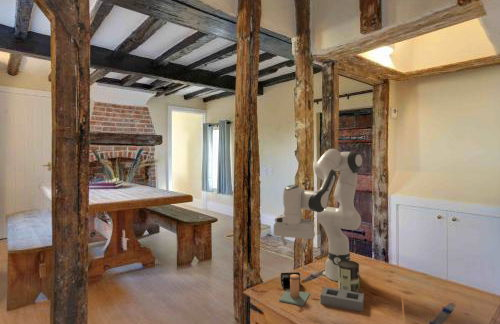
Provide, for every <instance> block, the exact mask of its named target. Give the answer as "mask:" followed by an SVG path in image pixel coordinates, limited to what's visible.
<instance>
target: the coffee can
mask: <svg viewBox="0 0 500 324" xmlns="http://www.w3.org/2000/svg"><path fill="white" fill-rule="evenodd" d="M337 282H338V284H337V285H338V289H341V290H347V291H353V292H359V293H360V264H359V262H356V261H354V260H351V261H349V260H343V261H339V262H338V281H337Z"/></svg>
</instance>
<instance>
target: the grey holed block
mask: <svg viewBox="0 0 500 324" xmlns="http://www.w3.org/2000/svg"><path fill="white" fill-rule="evenodd" d="M319 296H320V304H321V305H326V306H331V307H337V308H340V309H346V310H351V311H356V312H362V313H363V310H364V304H365V293H364V292H360V291H359V292H353V291H347V290H341V289H339V288H335V287H329V286H324V287H323V288H322V291H321V293H320V295H319Z"/></svg>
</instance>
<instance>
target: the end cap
mask: <svg viewBox="0 0 500 324" xmlns="http://www.w3.org/2000/svg"><path fill="white" fill-rule="evenodd" d="M292 274H297V275H299V290H300V289H301V284H302V283H301V273H300V271H299V272H298V271H297V272H280V284H281V286H282V289H283V290H287V289H290V275H292Z"/></svg>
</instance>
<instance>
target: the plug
mask: <svg viewBox="0 0 500 324" xmlns="http://www.w3.org/2000/svg"><path fill="white" fill-rule="evenodd" d="M299 291H300V289H299V275H297V274H292V275H290V297H291V298H294V299H297V298H299V297H300V295H299Z"/></svg>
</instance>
